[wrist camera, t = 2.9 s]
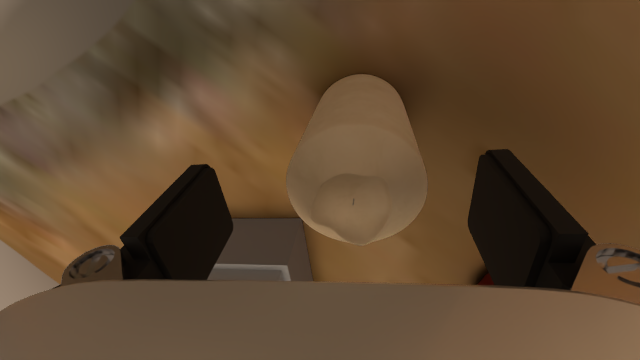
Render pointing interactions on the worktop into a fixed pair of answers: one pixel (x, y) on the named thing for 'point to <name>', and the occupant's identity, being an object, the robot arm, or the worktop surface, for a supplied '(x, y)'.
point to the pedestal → (264, 251)
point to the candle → (358, 164)
